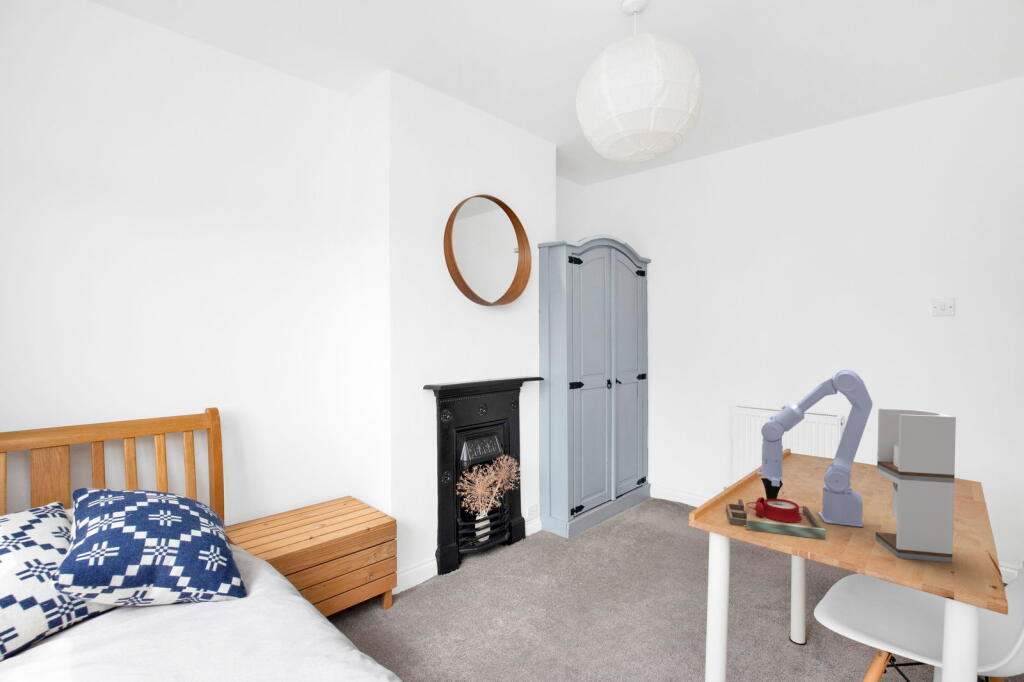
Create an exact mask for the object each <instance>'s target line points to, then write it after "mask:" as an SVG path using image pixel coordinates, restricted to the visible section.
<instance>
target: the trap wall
mask: <svg viewBox="0 0 1024 682" xmlns="http://www.w3.org/2000/svg"><path fill="white" fill-rule="evenodd" d="M737 500H738V502H737V504H738V505H741V508H740V510H741V511H743V519H746V526H745V529H746V528H747V529H751V530H750V531H755V530H756V531H755V532H763V531H764V532H765V533H772V534H780V535H787V536H797V537H804V538H811V539H818V540H826V532H827V531H826V529H825V528H823V527H822V526H821V524H819V522H818V520H817V519H816V518H815V516H814V515H813V514H812V512H811V511H810V510H809V508H808V506H805V505H803V506H804V508H802V514H805V515H804V517H806V519H807V521H808V522H809V524H810V525H811V526H805V525H796V524H788V523H783V522H781V523H780V522H772V521H766V520H765V521H763V520H757V519H756V520H754V519H748V513H747V511H746V510H745V503H744V502H743V500H742V499H741V498H738V499H737ZM747 529H746V530H747Z"/></svg>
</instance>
